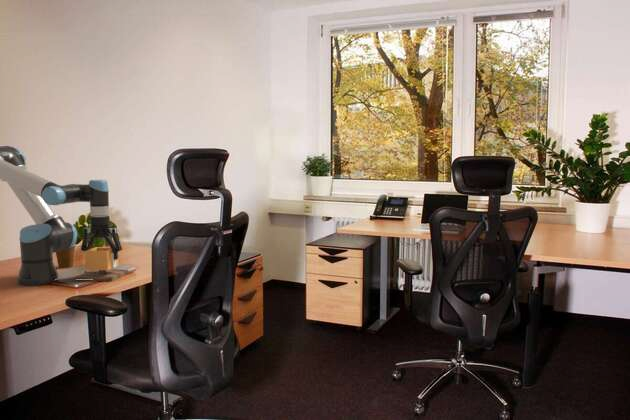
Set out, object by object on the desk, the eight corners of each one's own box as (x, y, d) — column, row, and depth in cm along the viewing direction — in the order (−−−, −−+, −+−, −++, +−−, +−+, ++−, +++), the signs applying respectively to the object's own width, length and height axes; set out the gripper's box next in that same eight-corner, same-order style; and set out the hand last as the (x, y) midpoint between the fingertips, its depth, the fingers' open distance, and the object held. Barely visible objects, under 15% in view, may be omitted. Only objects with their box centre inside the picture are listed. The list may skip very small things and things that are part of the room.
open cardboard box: (107, 270, 228) (107, 251, 227) (85, 269, 229) (84, 251, 228) (118, 265, 238) (117, 247, 237) (96, 265, 239) (96, 247, 238)
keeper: (111, 281, 225) (111, 258, 224) (75, 280, 227) (74, 258, 226) (128, 272, 241) (127, 251, 240) (94, 272, 243) (93, 251, 242)
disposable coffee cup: (68, 269, 249) (67, 243, 248) (50, 268, 251) (48, 243, 250) (81, 265, 258) (80, 240, 257) (63, 264, 260) (62, 239, 259)
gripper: (129, 215, 234) (131, 265, 236) (79, 214, 236) (81, 264, 238) (121, 217, 227) (123, 269, 229) (70, 216, 229) (72, 268, 231)
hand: (102, 267), depth 234 cm, fingers closed on open cardboard box, 10 cm apart
